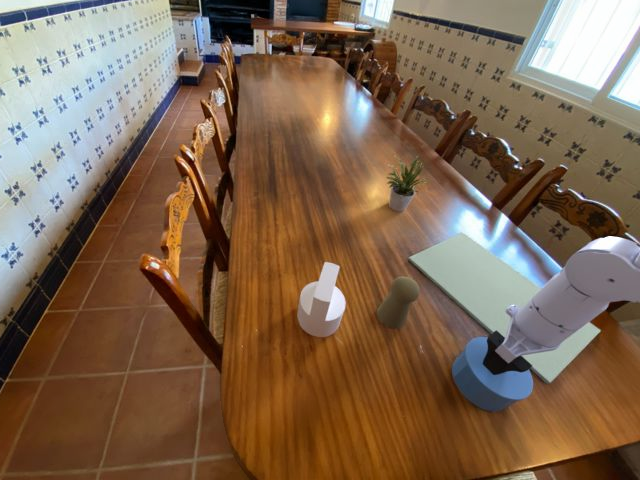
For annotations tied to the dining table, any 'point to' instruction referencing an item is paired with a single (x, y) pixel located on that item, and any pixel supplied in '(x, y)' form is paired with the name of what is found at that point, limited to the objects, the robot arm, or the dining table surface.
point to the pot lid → (502, 384)
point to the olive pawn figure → (398, 302)
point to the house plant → (403, 185)
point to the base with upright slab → (322, 304)
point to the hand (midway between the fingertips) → (502, 357)
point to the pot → (476, 388)
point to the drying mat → (493, 295)
